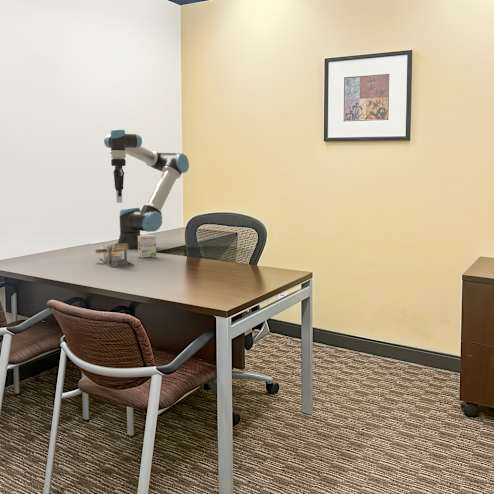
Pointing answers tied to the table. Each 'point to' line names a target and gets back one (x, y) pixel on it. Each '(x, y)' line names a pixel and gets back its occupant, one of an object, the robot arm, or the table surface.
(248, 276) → the table surface
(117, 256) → the white open box
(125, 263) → the stand
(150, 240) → the ink box
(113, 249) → the lever
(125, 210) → the robot arm
